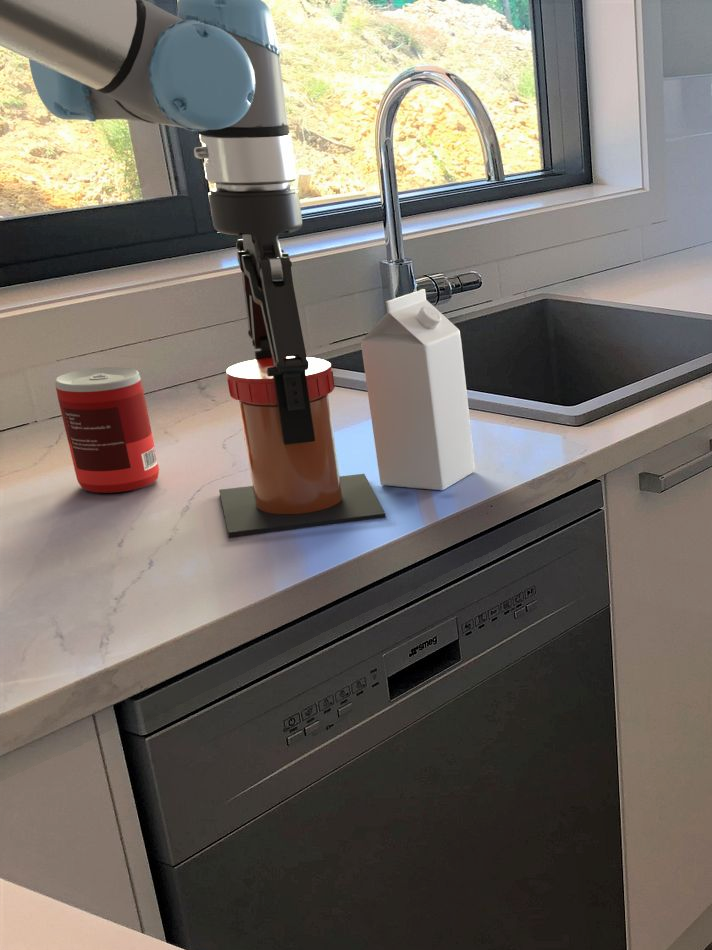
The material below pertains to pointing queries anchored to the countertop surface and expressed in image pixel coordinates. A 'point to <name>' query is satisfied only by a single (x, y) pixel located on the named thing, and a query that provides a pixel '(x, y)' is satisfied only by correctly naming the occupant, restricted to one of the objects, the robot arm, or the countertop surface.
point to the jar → (291, 461)
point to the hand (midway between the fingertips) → (289, 428)
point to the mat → (351, 508)
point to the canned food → (108, 429)
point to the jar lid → (258, 387)
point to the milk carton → (418, 396)
